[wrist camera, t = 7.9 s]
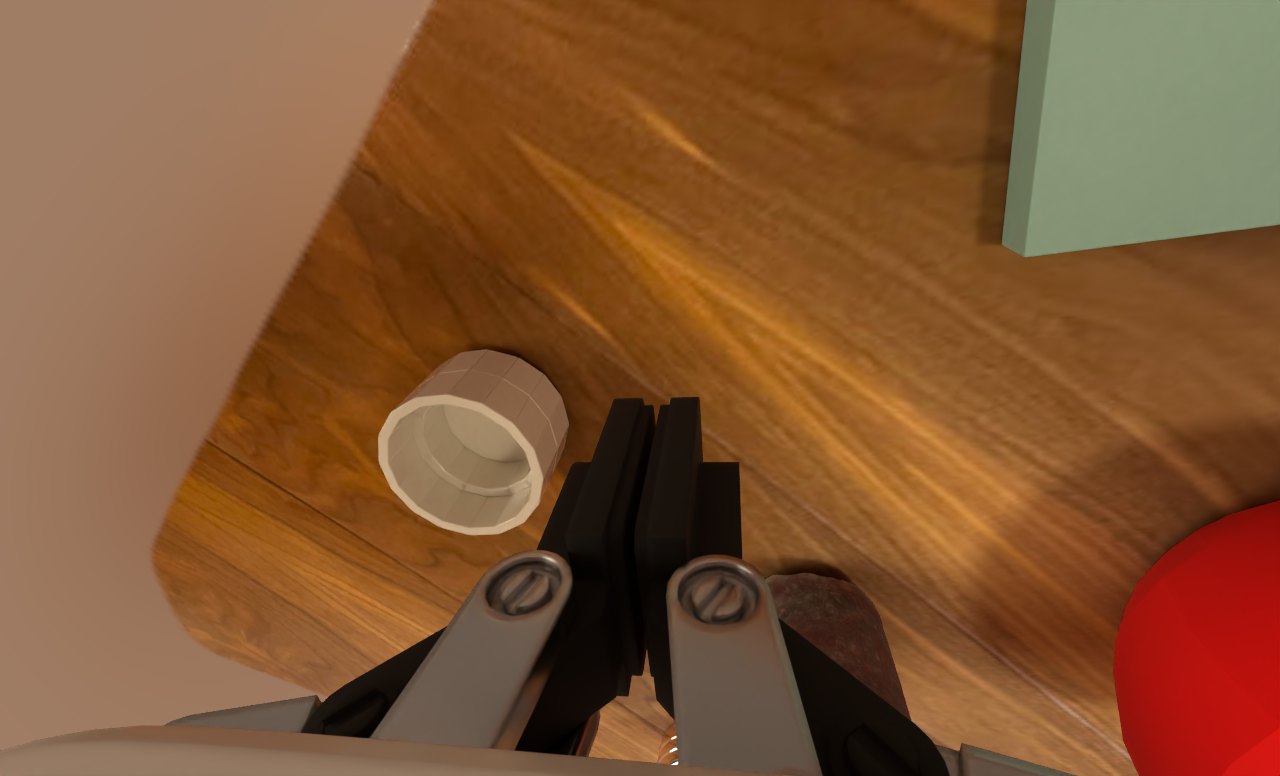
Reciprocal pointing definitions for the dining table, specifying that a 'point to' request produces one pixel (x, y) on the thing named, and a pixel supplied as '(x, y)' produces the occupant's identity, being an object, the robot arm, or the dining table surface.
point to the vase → (1205, 653)
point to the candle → (840, 629)
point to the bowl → (475, 443)
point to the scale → (1143, 123)
